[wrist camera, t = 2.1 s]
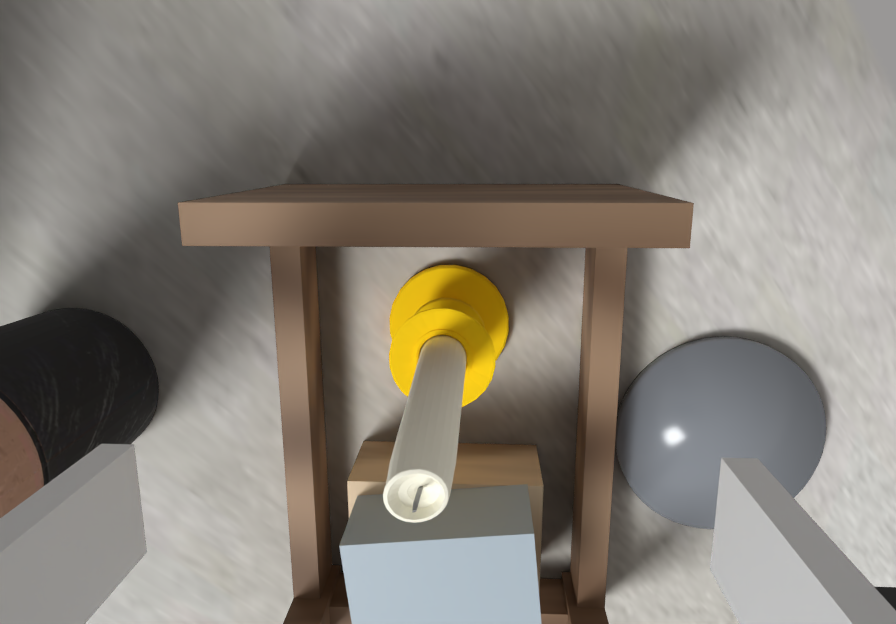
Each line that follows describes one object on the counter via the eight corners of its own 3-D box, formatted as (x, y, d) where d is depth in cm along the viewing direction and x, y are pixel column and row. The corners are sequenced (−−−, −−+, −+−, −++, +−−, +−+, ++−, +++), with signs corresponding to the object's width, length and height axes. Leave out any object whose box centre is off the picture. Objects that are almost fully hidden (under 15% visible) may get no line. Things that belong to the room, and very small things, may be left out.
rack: (284, 184, 28) (177, 202, 18) (617, 184, 27) (693, 203, 17) (310, 592, 33) (236, 779, 23) (593, 601, 32) (642, 799, 22)
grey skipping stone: (620, 335, 29) (623, 339, 28) (832, 337, 28) (839, 341, 28) (609, 519, 31) (611, 526, 30) (805, 524, 30) (811, 531, 30)
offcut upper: (357, 495, 27) (339, 545, 24) (527, 483, 26) (534, 533, 23) (375, 612, 28) (360, 675, 25) (537, 603, 28) (544, 666, 24)
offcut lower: (364, 439, 31) (347, 481, 27) (535, 443, 30) (543, 486, 26) (368, 551, 32) (352, 606, 28) (531, 556, 32) (538, 613, 28)
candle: (532, 331, 29) (587, 532, 14) (441, 399, 30) (398, 657, 15) (458, 239, 28) (429, 344, 13) (366, 312, 29) (240, 490, 14)
